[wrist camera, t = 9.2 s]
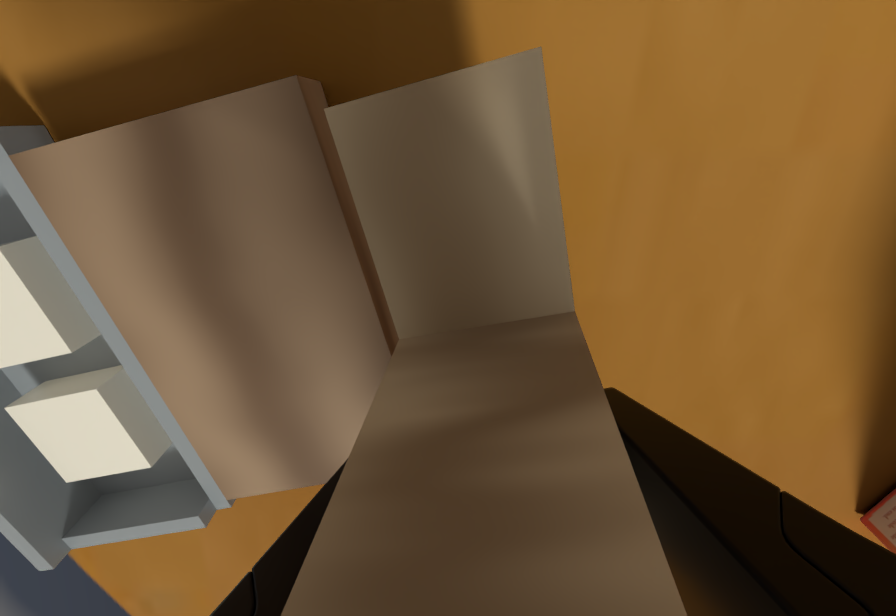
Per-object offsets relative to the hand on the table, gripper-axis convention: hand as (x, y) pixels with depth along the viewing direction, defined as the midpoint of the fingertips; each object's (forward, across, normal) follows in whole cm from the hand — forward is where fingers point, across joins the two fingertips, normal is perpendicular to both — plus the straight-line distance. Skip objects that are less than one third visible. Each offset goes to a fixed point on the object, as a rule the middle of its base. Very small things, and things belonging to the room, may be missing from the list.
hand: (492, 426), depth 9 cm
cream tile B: (+10, +19, +3) cm, 21 cm away
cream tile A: (+9, +19, -3) cm, 21 cm away
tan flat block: (+10, +9, 0) cm, 13 cm away
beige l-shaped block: (+4, 0, 0) cm, 5 cm away
